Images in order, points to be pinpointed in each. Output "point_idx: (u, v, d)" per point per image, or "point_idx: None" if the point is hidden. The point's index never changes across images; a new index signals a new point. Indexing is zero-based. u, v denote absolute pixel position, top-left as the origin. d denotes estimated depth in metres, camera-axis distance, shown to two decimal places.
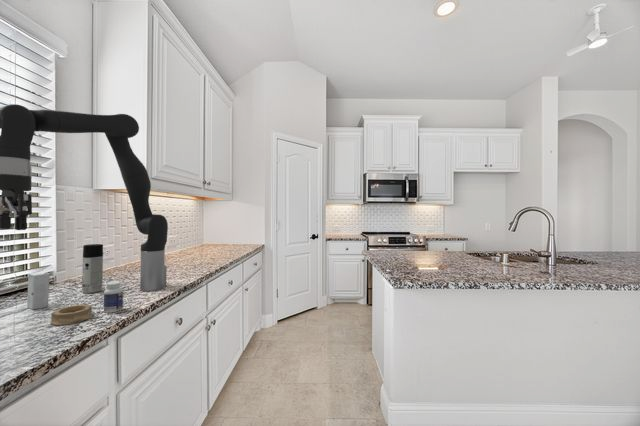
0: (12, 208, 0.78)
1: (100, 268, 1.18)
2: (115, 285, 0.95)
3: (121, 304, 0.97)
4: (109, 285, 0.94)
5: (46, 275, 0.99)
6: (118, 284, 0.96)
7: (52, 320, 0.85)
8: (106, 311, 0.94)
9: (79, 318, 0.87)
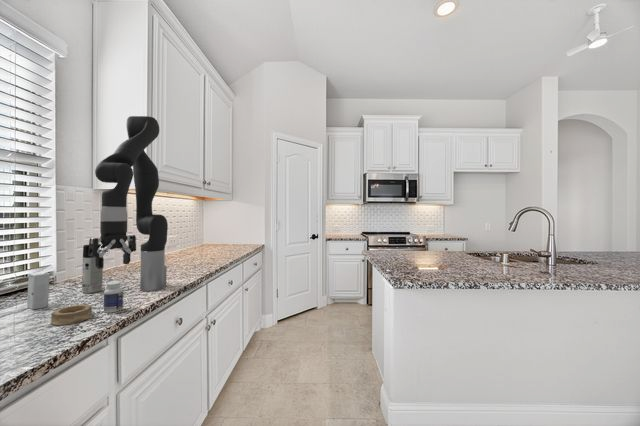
0: (127, 247, 0.99)
1: None
2: (115, 285, 0.95)
3: (121, 304, 0.97)
4: (109, 285, 0.94)
5: (46, 275, 0.99)
6: (118, 284, 0.96)
7: (52, 320, 0.85)
8: (106, 311, 0.94)
9: (79, 318, 0.87)
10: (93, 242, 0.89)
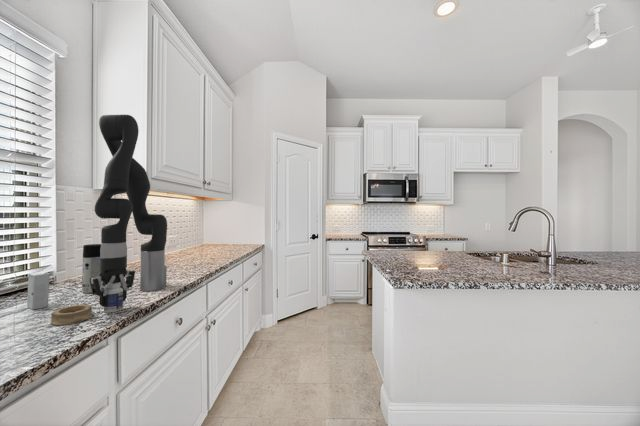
0: (125, 283, 0.99)
1: None
2: (115, 285, 0.95)
3: (121, 304, 0.97)
4: None
5: (46, 275, 0.99)
6: (118, 284, 0.96)
7: (52, 320, 0.85)
8: (106, 311, 0.94)
9: (79, 318, 0.87)
10: (94, 283, 0.90)
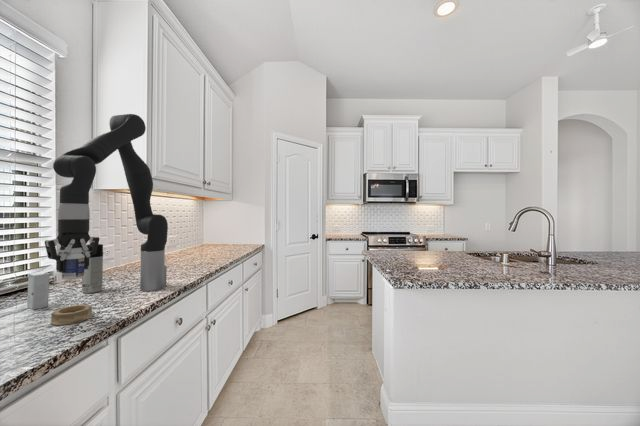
0: (87, 249, 0.91)
1: (100, 268, 1.18)
2: (75, 250, 0.87)
3: (82, 271, 0.89)
4: None
5: (46, 275, 0.99)
6: (78, 249, 0.88)
7: (52, 320, 0.85)
8: (64, 278, 0.86)
9: (79, 318, 0.87)
10: (49, 245, 0.82)
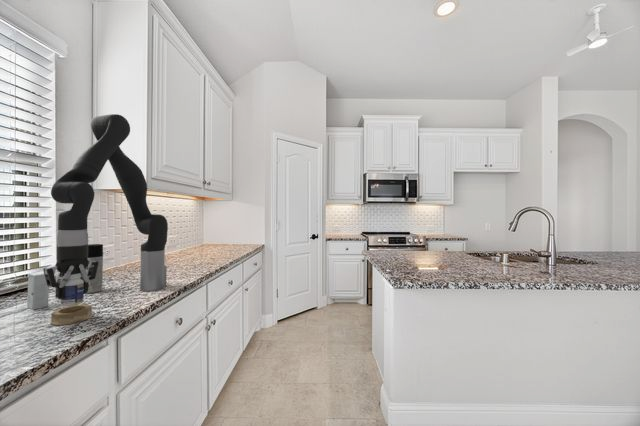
0: (86, 275, 0.91)
1: (100, 268, 1.18)
2: (74, 276, 0.87)
3: (81, 297, 0.89)
4: None
5: None
6: (77, 275, 0.88)
7: (52, 320, 0.85)
8: (63, 304, 0.86)
9: (79, 318, 0.87)
10: (48, 273, 0.82)
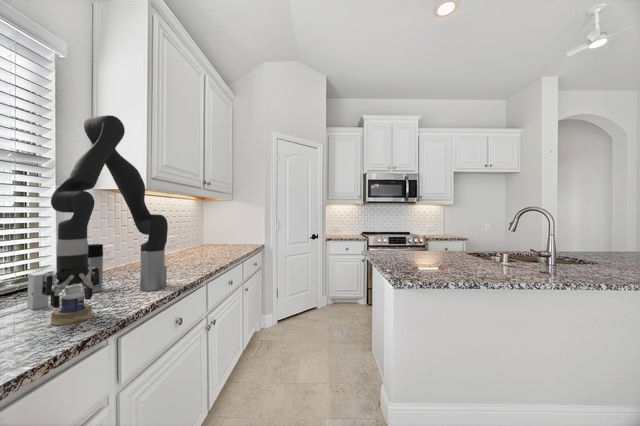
0: (89, 281, 0.91)
1: (100, 268, 1.18)
2: (74, 289, 0.87)
3: None
4: (67, 289, 0.87)
5: None
6: (78, 288, 0.88)
7: (52, 320, 0.85)
8: None
9: (79, 318, 0.87)
10: (47, 280, 0.82)
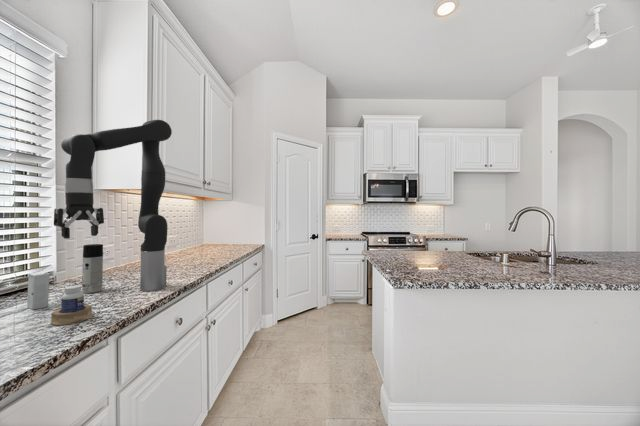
0: (94, 219, 1.02)
1: (100, 268, 1.18)
2: (74, 289, 0.87)
3: None
4: (67, 289, 0.87)
5: (46, 275, 0.99)
6: (78, 288, 0.88)
7: (52, 320, 0.85)
8: None
9: (79, 318, 0.87)
10: (58, 212, 0.92)
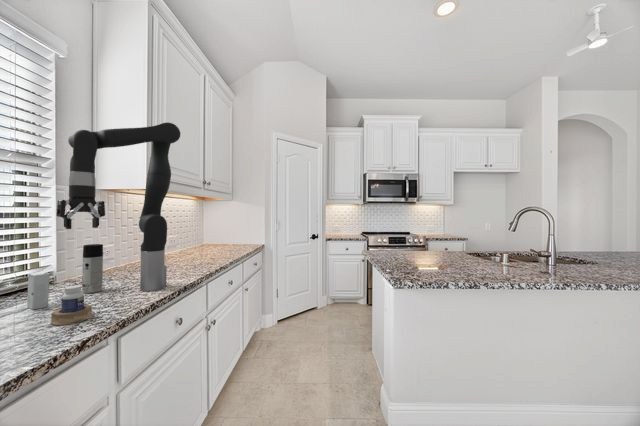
0: (96, 211, 1.06)
1: (100, 268, 1.18)
2: (74, 289, 0.87)
3: None
4: (67, 289, 0.87)
5: (46, 275, 0.99)
6: (78, 288, 0.88)
7: (52, 320, 0.85)
8: None
9: (79, 318, 0.87)
10: (61, 203, 0.96)
